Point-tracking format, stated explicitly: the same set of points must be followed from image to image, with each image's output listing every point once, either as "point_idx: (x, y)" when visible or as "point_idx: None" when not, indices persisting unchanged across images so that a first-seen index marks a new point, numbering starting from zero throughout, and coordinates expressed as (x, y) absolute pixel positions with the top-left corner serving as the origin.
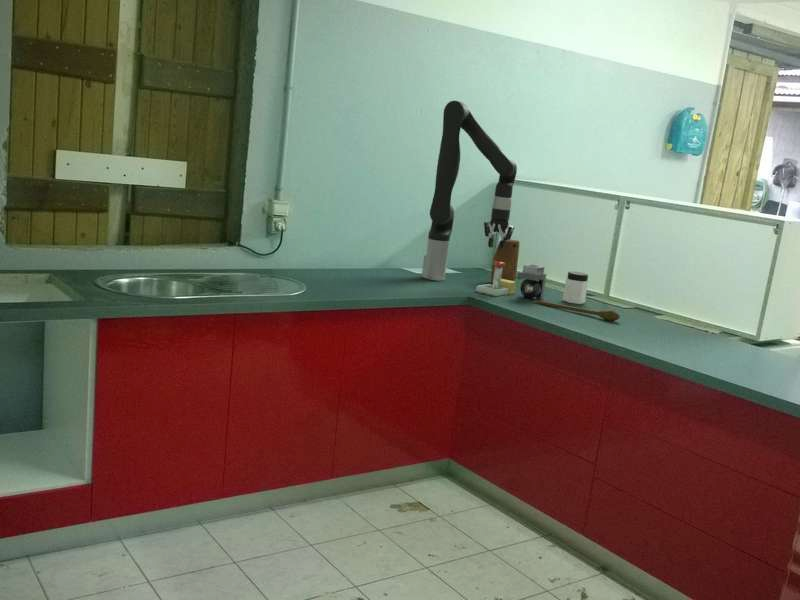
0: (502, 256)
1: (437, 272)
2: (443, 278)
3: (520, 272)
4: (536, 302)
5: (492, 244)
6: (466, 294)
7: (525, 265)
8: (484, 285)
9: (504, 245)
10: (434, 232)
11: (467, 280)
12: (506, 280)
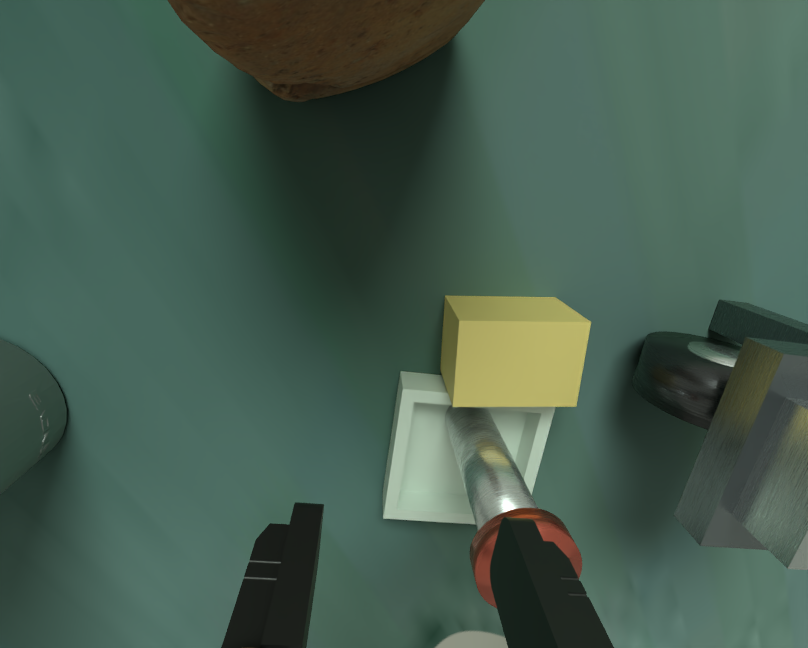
0: (329, 28)
1: (12, 483)
2: (55, 407)
3: (719, 543)
4: None
5: (317, 555)
6: (390, 595)
7: (806, 569)
8: (404, 460)
9: (579, 597)
10: None
11: (113, 186)
12: (518, 352)
